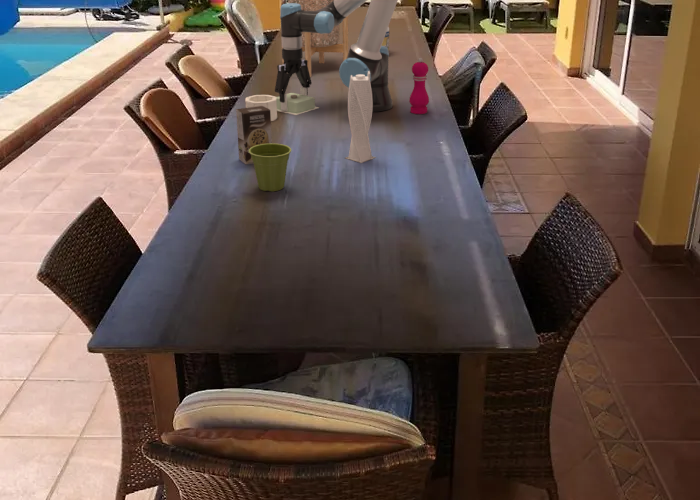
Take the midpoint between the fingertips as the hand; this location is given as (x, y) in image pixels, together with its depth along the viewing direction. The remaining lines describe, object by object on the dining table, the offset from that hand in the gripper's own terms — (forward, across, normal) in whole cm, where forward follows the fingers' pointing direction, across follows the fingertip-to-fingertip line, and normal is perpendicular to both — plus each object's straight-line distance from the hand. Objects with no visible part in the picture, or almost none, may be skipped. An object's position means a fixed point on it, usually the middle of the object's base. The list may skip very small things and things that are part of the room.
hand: (294, 107), depth 297 cm
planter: (+1, -55, -39) cm, 67 cm away
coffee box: (+1, +50, +31) cm, 59 cm away
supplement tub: (+1, -95, -35) cm, 101 cm away
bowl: (+1, +17, 0) cm, 17 cm away
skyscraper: (+1, +29, +56) cm, 63 cm away
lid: (0, 0, 0) cm, 0 cm away
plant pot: (+1, +64, +52) cm, 82 cm away
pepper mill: (+1, -26, +39) cm, 47 cm away
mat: (+1, 0, 0) cm, 1 cm away
